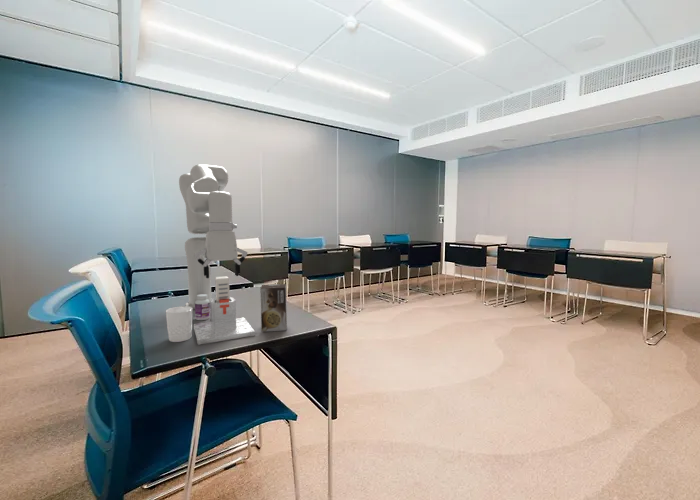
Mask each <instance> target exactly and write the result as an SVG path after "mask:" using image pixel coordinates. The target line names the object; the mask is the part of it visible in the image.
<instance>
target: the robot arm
mask: <svg viewBox="0 0 700 500" xmlns="http://www.w3.org/2000/svg"><path fill="white" fill-rule="evenodd" d="M228 183H229V174H228V171H227V169H225V167H223V166H220V165H213V164H212V165H211V164H201V163H200V164H196V165H193V166H192V167H191V169H190V173H183V174H181V175H180V176H179V178H178V185H179V190H180V191H179V192H180V193H181V196H182V198H183V200H184V203H185V212H186V213H185V215H186V227H187V231H188V233H190V234H191V235H205V236H203V237H202V236H201V237H200V236H198V237H191V238H188V239H187V240H186V241H185V242H184V251H185V255H186V262H187V263H186V264H187V285H188V287H187V289H188V301H187V302H186V303H185V304H184V306H188V307H192V308H193V310H195V301H196V300H197V295H200V294H207V295H208V298H207V299H208V300H209V302H210V300H211V299H212V281H211V280H212V276H211V275H212V273H211V266H210V263H211V262H214V261H215V262H217V261H232V260H233V261H234V263H235V264H234V276H235V277H239V276H240V275H239V274H241V264H242V263H243V262H244V261H245V260H246V257H247V255H248V251H245V250H243V249H242V248H239V247H238V245H237V244H238V243H237V236H236V233H235V231H233V230H234V229H237V228H238V226H237V224H235V223H233V203H232V202H233V201H232V200H233V199H232V197H233V196H232V195H231V193H230V192H227V191H223V190H224V189H225V188H226V186H227V185H228ZM238 253H240V254H241V257H240V258H239V259H238Z"/></svg>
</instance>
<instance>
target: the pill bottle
mask: <svg viewBox="0 0 700 500" xmlns="http://www.w3.org/2000/svg"><path fill="white" fill-rule="evenodd" d="M207 298H208V295H207V294H200V295H197V300H196V301H195V309H194V318H195V320H197V321H205V320H208V319H210V302H209V300H208V299H207Z"/></svg>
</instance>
